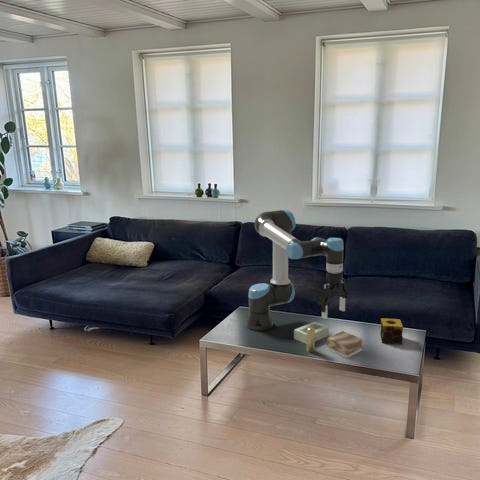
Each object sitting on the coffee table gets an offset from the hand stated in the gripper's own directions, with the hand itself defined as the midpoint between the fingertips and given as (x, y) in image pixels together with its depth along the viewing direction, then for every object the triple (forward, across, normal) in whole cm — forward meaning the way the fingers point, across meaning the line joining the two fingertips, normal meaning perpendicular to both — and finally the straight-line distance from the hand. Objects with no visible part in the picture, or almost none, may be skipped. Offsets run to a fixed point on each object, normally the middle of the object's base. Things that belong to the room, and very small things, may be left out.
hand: (333, 314), depth 216 cm
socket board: (+22, +9, +21) cm, 31 cm away
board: (+22, +10, 0) cm, 24 cm away
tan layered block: (+20, +10, 0) cm, 22 cm away
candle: (+22, +36, -10) cm, 44 cm away
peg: (+22, -3, +11) cm, 25 cm away
